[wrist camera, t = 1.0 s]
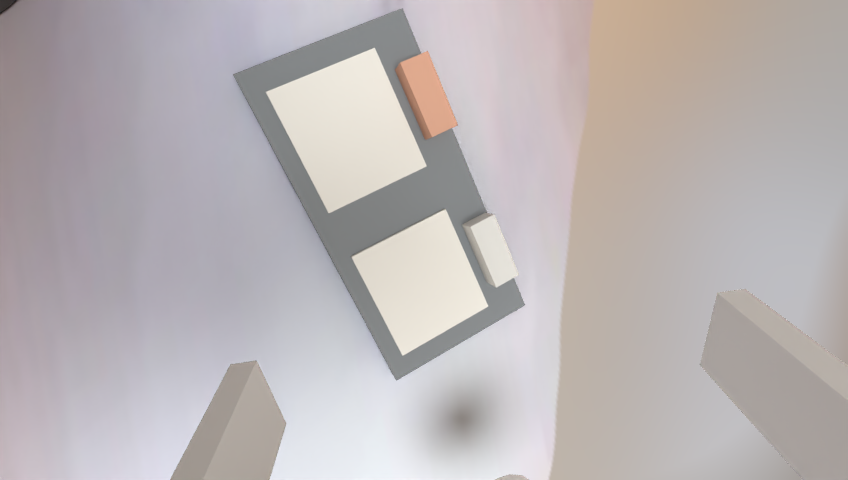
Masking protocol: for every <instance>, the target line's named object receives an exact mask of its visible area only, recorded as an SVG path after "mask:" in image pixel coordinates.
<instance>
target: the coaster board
mask: <svg viewBox="0 0 848 480" xmlns="http://www.w3.org/2000/svg"><path fill="white" fill-rule="evenodd" d="M233 75H234V77H235V79H236V81H237V83H238V85H239V86H240V88H241V90H242V92H243V94H244V96H245V98H246V100H247V101H248V103H249V105H250V107H251V109H252V111H253V113H254V115H255V116H256V118H257V120H258V122H259V124H260V126H261V128H262V130H263V131H264V133H265V135H266V137H267V139H268V141H269V143H270V145H271V147H272V148H273V150H274V152H275V154H276V156H277V158H278V160H279V162H280V163H281V165H282V167H283V169H284V171H285V173H286V175H287V177H288V178H289V180H290V182H291V184H292V186H293V188H294V190H295V192H296V193H297V195H298V197H299V199H300V201H301V203H302V205H303V207H304V208H305V210H306V212H307V214H308V216H309V218H310V220H311V222H312V223H313V225H314V227H315V229H316V231H317V233H318V235H319V237H320V238H321V240H322V242H323V244H324V246H325V248H326V250H327V252H328V253H329V255H330V257H331V259H332V261H333V263H334V265H335V267H336V268H337V270H338V272H339V274H340V276H341V278H342V280H343V282H344V283H345V285H346V287H347V289H348V291H349V293H350V295H351V297H352V298H353V300H354V302H355V304H356V306H357V308H358V310H359V312H360V313H361V315H362V317H363V319H364V321H365V323H366V325H367V327H368V328H369V330H370V332H371V334H372V336H373V338H374V340H375V342H376V344H377V345H378V347H379V349H380V351H381V353H382V355H383V357H384V359H385V360H386V362H387V364H388V366H389V368H390V370H391V372H392V374H393V375H394V377H395V379H396V380H398V379H400V378H402V377H403V376H405V375H407V374H408V373H410V372H412V371H413V370H415V369H417V368H419V367H420V366H422V365H424V364H425V363H427V362H429V361H431V360H432V359H434V358H436V357H437V356H439V355H441V354H442V353H444V352H446V351H448V350H449V349H451V348H453V347H454V346H456V345H458V344H460V343H461V342H463V341H465V340H466V339H468V338H470V337H471V336H473V335H475V334H477V333H478V332H480V331H482V330H483V329H485V328H487V327H488V326H490V325H492V324H494V323H495V322H497V321H499V320H500V319H502V318H504V317H506V316H507V315H509V314H511V313H512V312H514V311H516V310H517V309H519V308H521V307H523V306H524V305H525V304H524V302H523V299H522V297H521V294H520V292H519V289H518V287H517V285H516V282H515V280H514V277H516V276H518V275H519V273H518V271H517V269H516V266H515V264H514V261H513V259H512V256H511V254H510V251H509V249H508V247H507V244H506V242H505V239H504V237H503V234H502V232H501V229H500V227H499V224H498V222H497V220H496V217H495V215H494V214H490V213H487V212H486V210H485V207H484V205H483V202H482V200H481V197H480V195H479V193H478V190H477V188H476V185H475V183H474V180H473V178H472V176H471V173H470V171H469V168H468V166H467V163H466V161H465V159H464V156H463V154H462V151H461V149H460V147H459V144H458V142H457V139H456V137H455V134H454V132H453V130H452V128H453V127H455V126H457V125H458V124H457V122H456V119H455V117H454V114H453V112H452V109H451V107H450V104H449V102H448V100H447V97H446V95H445V92H444V90H443V87H442V85H441V82H440V80H439V78H438V75H437V73H436V70H435V68H434V65H433V63H432V60H431V58H430V55H429V53H428V51H427V52H424V53H422V54H421V52H420V50H419V47H418V45H417V42H416V40H415V38H414V35H413V33H412V30H411V28H410V25H409V23H408V21H407V18H406V16H405V13H404V11H403V8H402V9H399V10H397V11H394V12H392V13H389V14H387V15H384V16H381V17H379V18H376V19H374V20H371V21H369V22H366V23H364V24H361V25H358V26H356V27H353V28H351V29H348V30H346V31H343V32H341V33H338V34H335V35H333V36H330V37H328V38H325V39H323V40H320V41H318V42H315V43H312V44H310V45H307V46H305V47H302V48H300V49H297V50H295V51H292V52H289V53H287V54H284V55H282V56H279V57H277V58H274V59H272V60H269V61H266V62H264V63H261V64H259V65H256V66H254V67H251V68H249V69H246V70H243V71H241V72H238V73H236V74H233Z"/></svg>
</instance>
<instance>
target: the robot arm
mask: <svg viewBox="0 0 848 480" xmlns="http://www.w3.org/2000/svg"><path fill="white" fill-rule="evenodd" d="M14 1H15V0H0V12H2V11H3V10H5V9H6V8H7V7H9V6H10V5H11V4H12V3H13V2H14ZM700 365H701V367H702V368H703V369H704V370H705V371H706V372H707V374H708V375H709V376H710V377H711V378H712V379H713V380H714V381H715V382H716V384H717V385H718V386H719V387H720V388H721V389H722V390H723V391H724V392H725V394H726V395H727V396H728V397H729V398H730V399H731V400H732V402H733V403H734V404H735V405H736V406H737V407H738V408H739V409H740V410H741V412H742V413H743V414H744V415H745V416H746V417H747V418H748V419H749V421H750V422H751V423H752V424H753V425H754V426H755V427H756V428H757V430H758V431H759V432H760V433H761V434H762V435H763V436H764V437H765V438H766V440H767V441H768V442H769V443H770V444H771V445H772V446H773V447H774V449H775V450H776V451H777V452H778V453H779V454H780V455H781V456H782V458H783V459H784V460H785V461H786V462H787V463H788V464H789V465H790V466H791V467H792V469H793V470H794V471H795V472H796V473H797V474H798V475H799V477H800V478H801V479H802V480H848V365H846V364H845V363H843V362H842V361H841V360H839V359H838V358H837V357H836V356H834V355H833V354H832V353H830V352H829V351H828V350H826V349H825V348H823V347H822V346H821V345H819V344H818V343H817V342H816V341H814V340H813V339H812V338H810V337H809V336H808V335H806V334H805V333H803V332H802V331H801V330H800V329H798V328H797V327H795V326H794V325H793V324H792V323H790V322H789V321H788V320H786V319H785V318H784V317H782V316H781V315H779V314H778V313H777V312H776V311H774V310H773V309H771V308H770V307H769V306H768V305H766V304H765V303H763V302H762V301H761V300H759V299H758V298H757V297H755V296H754V295H753V294H751V293H750V292H749V291H747V290H746V289H741V290H734V291H728V292H720V293H717V297H716V301H715V305H714V309H713V313H712V317H711V321H710V325H709V330H708V334H707V338H706V342H705V346H704V351H703V354H702V359H701V363H700ZM285 426H286V422H285V420H284V418H283V416H282V414H281V411H280V409H279V407H278V405H277V403H276V401H275V399H274V397H273V394H272V392H271V390H270V388H269V386H268V384H267V382H266V380H265V377H264V375H263V373H262V371H261V369H260V367H259V365H258V363H257V361H250V362H244V363H237V364H231V365H230V367H229V368H228V370H227V372H226V374H225V376H224V378H223V380H222V382H221V384H220V386H219V388H218V389H217V391H216V393H215V395H214V397H213V399H212V401H211V403H210V405H209V407H208V409H207V410H206V412H205V414H204V416H203V418H202V420H201V422H200V424H199V426H198V428H197V430H196V431H195V433H194V435H193V437H192V439H191V441H190V443H189V445H188V447H187V449H186V451H185V452H184V454H183V456H182V458H181V460H180V462H179V464H178V466H177V468H176V470H175V472H174V473H173V475H172V477H171V479H170V480H269V479H270V476H271V473H272V469H273V466H274V463H275V459H276V456H277V453H278V449H279V446H280V443H281V439H282V436H283V433H284V430H285Z"/></svg>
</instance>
